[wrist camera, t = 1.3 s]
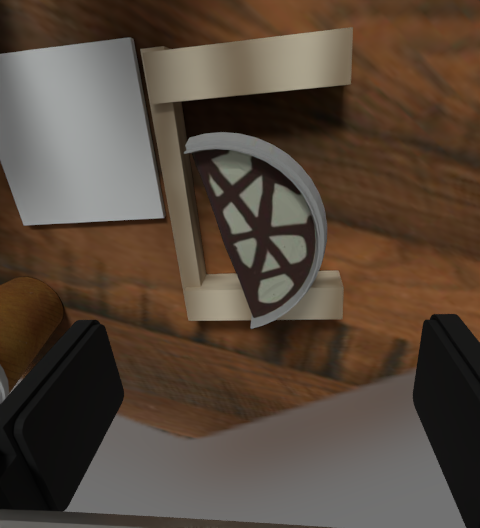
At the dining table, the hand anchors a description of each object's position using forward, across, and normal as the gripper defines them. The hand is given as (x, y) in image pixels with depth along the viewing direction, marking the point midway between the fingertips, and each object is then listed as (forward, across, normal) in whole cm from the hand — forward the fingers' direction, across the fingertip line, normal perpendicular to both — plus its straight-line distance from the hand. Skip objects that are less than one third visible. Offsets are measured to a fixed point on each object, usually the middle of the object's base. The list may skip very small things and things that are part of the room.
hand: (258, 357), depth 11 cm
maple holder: (+20, +1, 0) cm, 20 cm away
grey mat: (+20, +16, -5) cm, 26 cm away
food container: (+20, 0, 0) cm, 20 cm away
